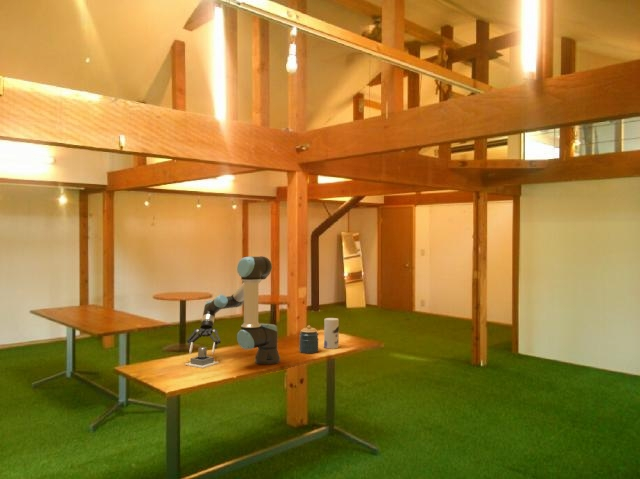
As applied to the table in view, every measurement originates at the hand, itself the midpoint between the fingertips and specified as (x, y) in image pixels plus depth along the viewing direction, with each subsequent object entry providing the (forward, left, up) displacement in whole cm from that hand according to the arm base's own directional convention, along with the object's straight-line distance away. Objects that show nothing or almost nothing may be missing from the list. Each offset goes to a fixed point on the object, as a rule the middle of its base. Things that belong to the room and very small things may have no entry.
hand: (201, 352), depth 285 cm
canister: (-38, -62, -7) cm, 73 cm away
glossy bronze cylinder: (0, -1, -6) cm, 6 cm away
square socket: (0, -1, -7) cm, 7 cm away
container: (-45, -81, -7) cm, 92 cm away
